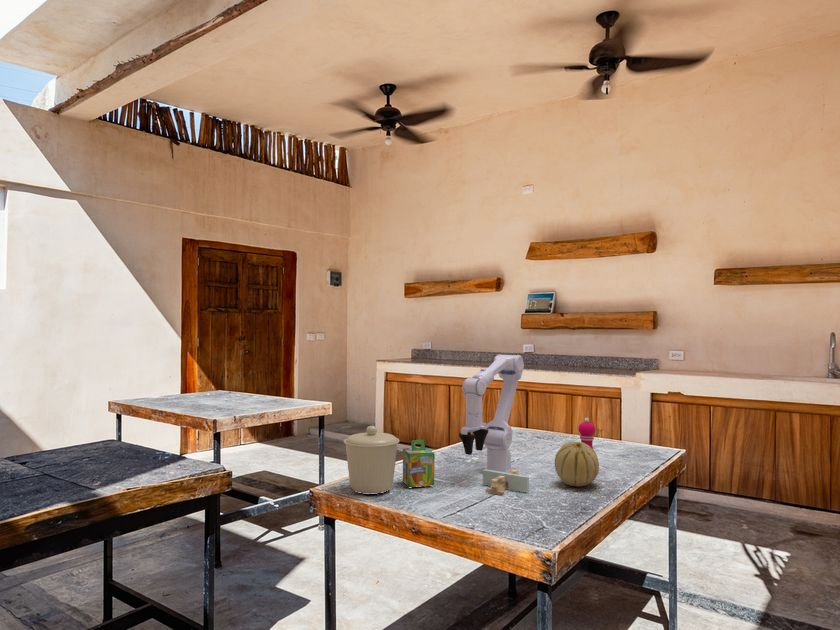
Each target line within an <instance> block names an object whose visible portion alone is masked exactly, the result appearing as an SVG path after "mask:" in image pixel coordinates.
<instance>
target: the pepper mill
mask: <svg viewBox="0 0 840 630" xmlns="http://www.w3.org/2000/svg"><path fill="white" fill-rule="evenodd" d="M577 428H578V432H579V434H580V435H579V439H580V442H582V443H585V444H587V445H589V446H590V447H591V448H592V449H593V450H594V447H593V442H594V440H595V438H594V437H595V436H594V434H595V433H596V426H595V425H594V423H592V422H590V418H589V417H585V418H584V420H583V422H581V423H579V425H578V427H577Z"/></svg>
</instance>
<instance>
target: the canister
mask: <svg viewBox="0 0 840 630" xmlns="http://www.w3.org/2000/svg"><path fill="white" fill-rule="evenodd" d="M365 430H366V432H358V433H353V434H351V435H349V436H348V437H347V438H345V439H343V444H344V445H345V449H346V451H345V452H346V461H347V471H348V477H349V479H348V480H349V486H350V487H351V488H350V489H353V490H354V491H357V492H361V493H381V492H385V491H387V492H389V491H390V490H391V488H392V487H393V483H394V477H395V471H396V470H395V469H396V460H397V452H398V451H397V450H398V444H399V443H400V439H399V437H396V436H395V435H393V434H391V433H387V432H378V428H377V426H375V425H369V426H367V427H366V429H365ZM353 490H352V491H353ZM388 490H389V491H388Z"/></svg>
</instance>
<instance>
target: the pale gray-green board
mask: <svg viewBox="0 0 840 630" xmlns="http://www.w3.org/2000/svg"><path fill="white" fill-rule="evenodd" d="M482 471H483V472H482V485H483V484H484V485H483V486H485V485H488V486H487V487H491V486H492V481H491V480H492V479H494V478H497V477H499V476H505V482H509V488H508V491H513V490H515V491H514V492H518V491H520V492H519V493H523V492H526V493H525V494H528V493H529V492H530V484H529V483H530V476H529V475H523V474H518V475H517V474H511V473H505V472H499V471H493V470H487V468H484V469H482ZM527 492H528V493H527Z"/></svg>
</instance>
